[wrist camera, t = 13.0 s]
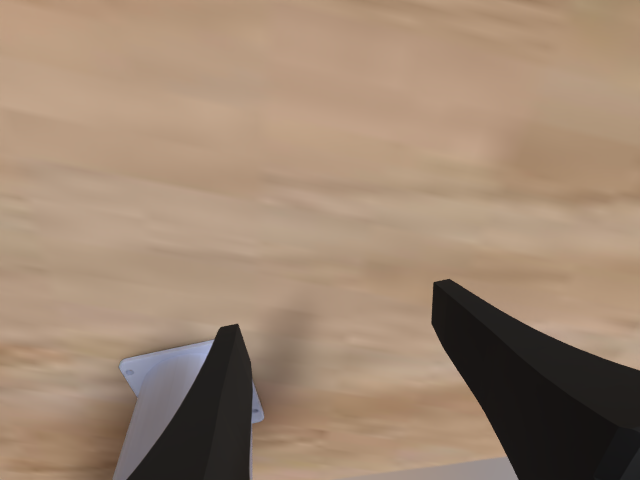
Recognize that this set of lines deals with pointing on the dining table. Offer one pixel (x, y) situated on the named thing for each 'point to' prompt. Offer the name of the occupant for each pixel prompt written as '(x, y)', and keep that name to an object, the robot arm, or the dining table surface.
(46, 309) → the dining table surface
